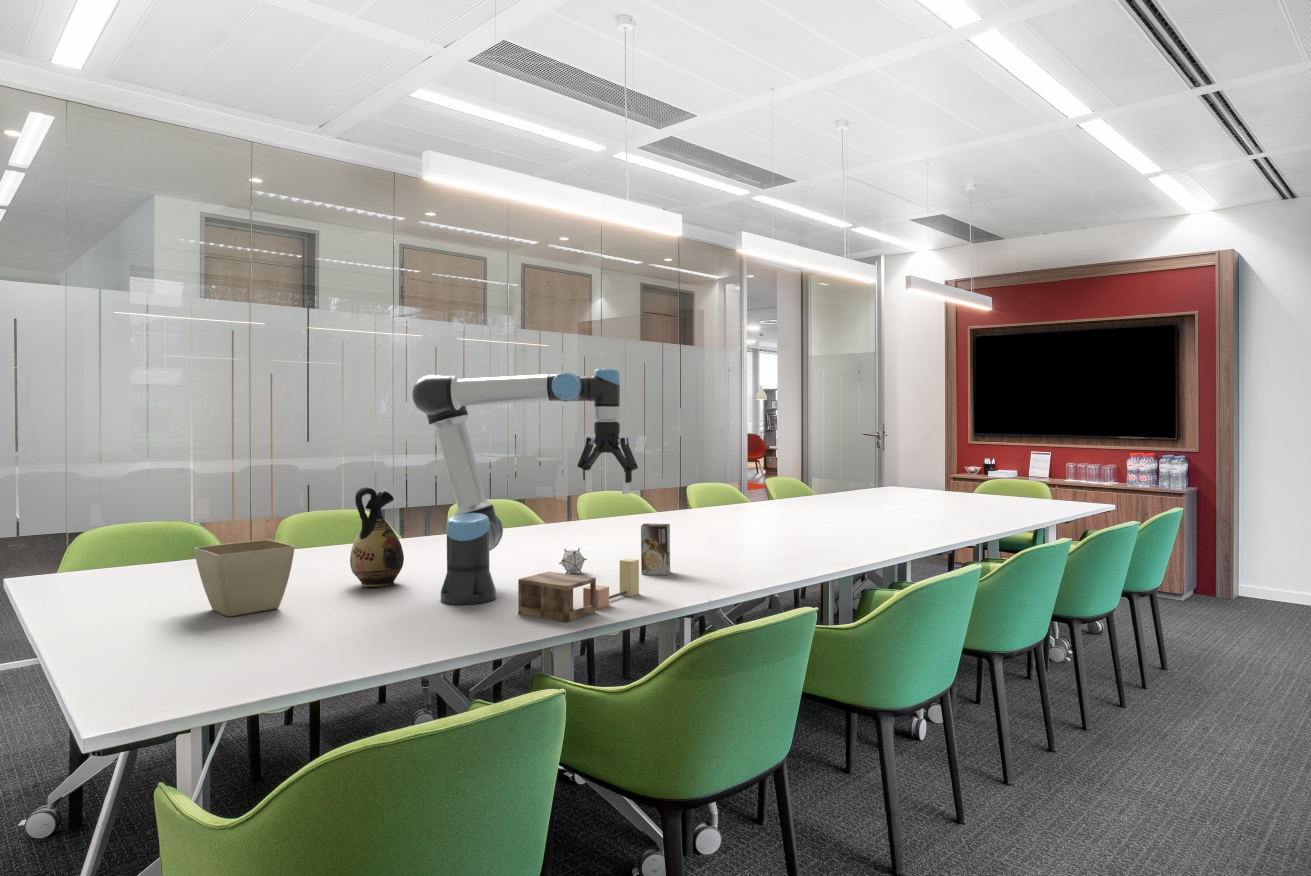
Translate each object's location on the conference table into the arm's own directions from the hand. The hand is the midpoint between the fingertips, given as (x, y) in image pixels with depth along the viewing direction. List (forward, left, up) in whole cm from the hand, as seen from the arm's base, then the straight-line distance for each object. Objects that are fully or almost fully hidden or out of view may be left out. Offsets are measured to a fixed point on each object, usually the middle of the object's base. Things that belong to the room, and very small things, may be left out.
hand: (607, 492), depth 228 cm
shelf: (-7, -30, -29) cm, 42 cm away
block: (+4, -14, -29) cm, 32 cm away
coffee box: (+11, +26, -29) cm, 40 cm away
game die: (-16, +22, -29) cm, 40 cm away
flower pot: (-90, -38, -29) cm, 102 cm away
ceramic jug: (-71, -5, -29) cm, 77 cm away
